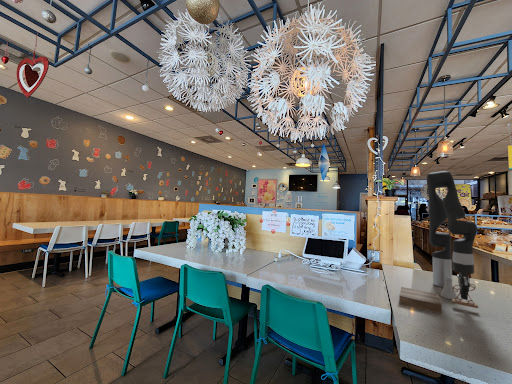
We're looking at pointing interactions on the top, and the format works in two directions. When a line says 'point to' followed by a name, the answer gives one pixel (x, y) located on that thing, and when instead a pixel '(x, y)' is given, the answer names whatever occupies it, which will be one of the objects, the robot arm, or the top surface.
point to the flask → (448, 290)
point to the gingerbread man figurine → (465, 303)
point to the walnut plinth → (420, 300)
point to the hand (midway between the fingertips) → (464, 298)
